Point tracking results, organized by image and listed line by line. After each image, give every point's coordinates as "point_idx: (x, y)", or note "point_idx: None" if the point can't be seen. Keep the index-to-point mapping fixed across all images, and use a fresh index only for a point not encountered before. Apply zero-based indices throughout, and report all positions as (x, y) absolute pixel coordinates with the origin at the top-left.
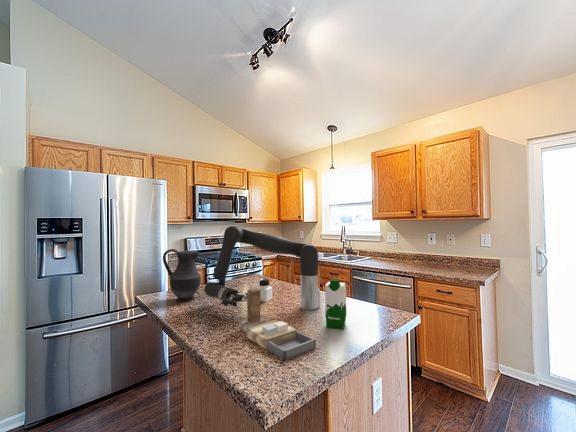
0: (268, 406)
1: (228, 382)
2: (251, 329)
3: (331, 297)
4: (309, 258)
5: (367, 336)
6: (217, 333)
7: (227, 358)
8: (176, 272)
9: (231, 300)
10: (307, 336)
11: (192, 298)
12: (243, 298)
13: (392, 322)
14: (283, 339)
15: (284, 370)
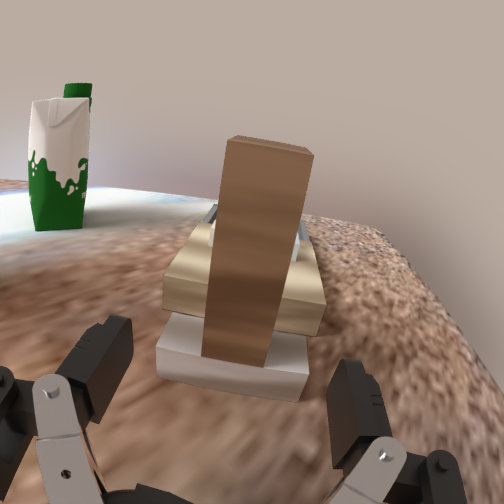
0: (371, 227)
1: (409, 261)
2: (317, 288)
3: (88, 132)
4: None
5: (102, 194)
6: (418, 431)
7: (405, 296)
8: None
9: (377, 435)
10: (212, 211)
11: None
12: (98, 478)
13: (20, 186)
14: None
15: (318, 233)
